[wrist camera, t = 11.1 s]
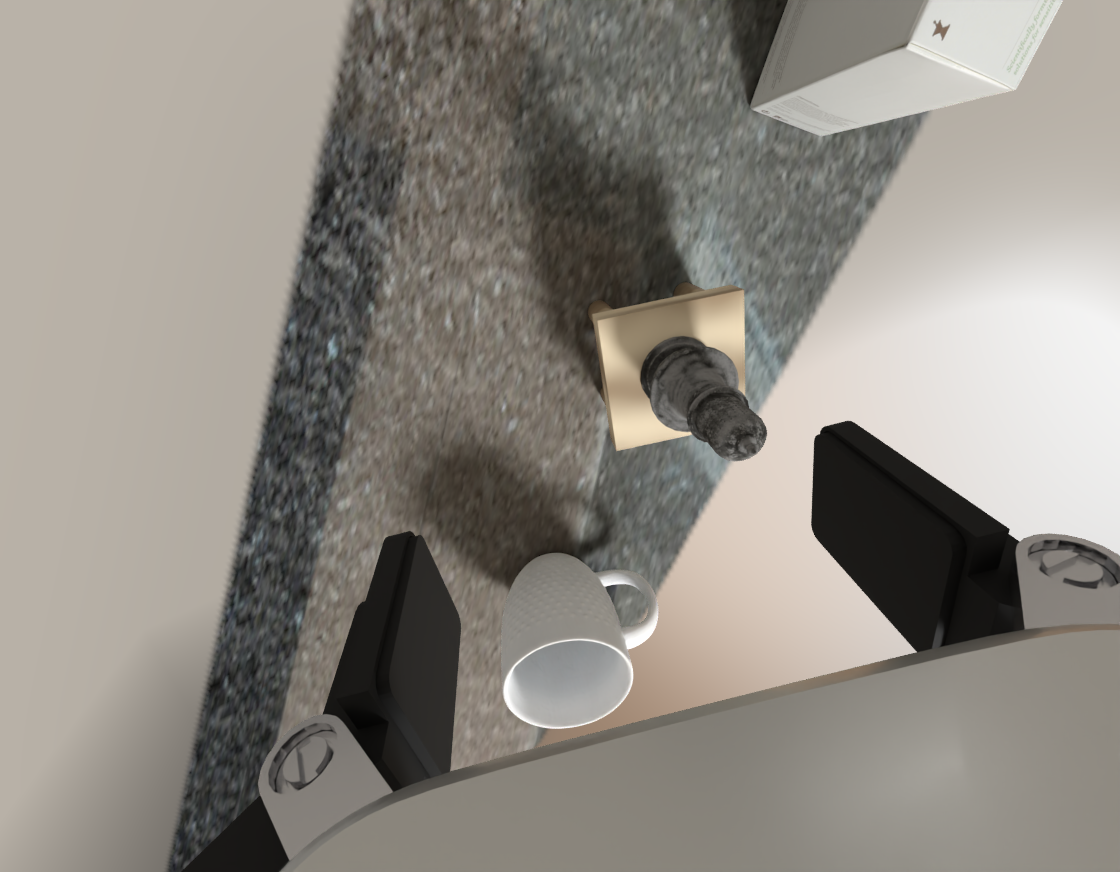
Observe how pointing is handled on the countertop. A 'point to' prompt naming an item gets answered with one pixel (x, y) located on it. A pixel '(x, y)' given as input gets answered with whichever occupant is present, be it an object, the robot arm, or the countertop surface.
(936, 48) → the skincare box
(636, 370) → the stool
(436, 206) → the countertop surface
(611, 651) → the mug
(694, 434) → the salt shaker
